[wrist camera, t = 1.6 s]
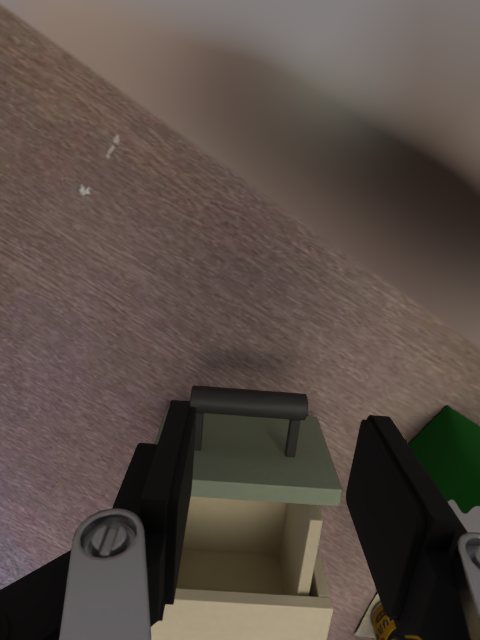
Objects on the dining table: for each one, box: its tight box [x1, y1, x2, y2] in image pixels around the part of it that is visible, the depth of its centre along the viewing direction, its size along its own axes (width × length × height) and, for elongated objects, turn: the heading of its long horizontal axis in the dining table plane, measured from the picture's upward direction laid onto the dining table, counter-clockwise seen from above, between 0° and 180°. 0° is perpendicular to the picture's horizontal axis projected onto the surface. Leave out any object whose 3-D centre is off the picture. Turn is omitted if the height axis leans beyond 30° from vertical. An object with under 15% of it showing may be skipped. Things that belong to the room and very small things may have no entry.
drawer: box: [155, 386, 342, 596], centre depth 28 cm, size 18×11×8 cm, turn 175°
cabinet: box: [151, 545, 333, 640], centre depth 31 cm, size 15×13×10 cm
